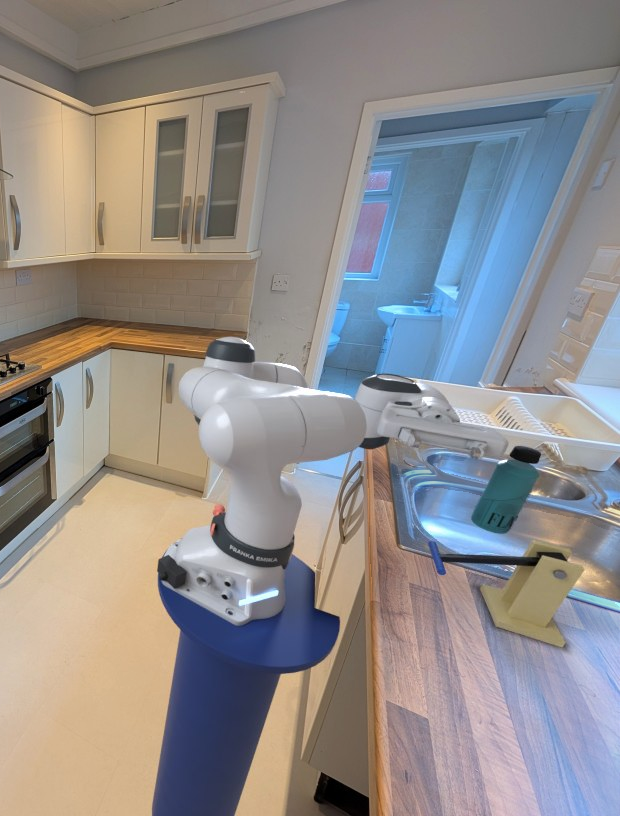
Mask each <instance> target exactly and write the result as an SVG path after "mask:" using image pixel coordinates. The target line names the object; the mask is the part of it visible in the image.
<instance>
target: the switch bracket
mask: <svg viewBox="0 0 620 816" xmlns="http://www.w3.org/2000/svg"><path fill="white" fill-rule="evenodd" d="M537 552H560V553H562V554H563V555H564V557H565V558H566V560H567V561H568V560H569V558H570V557H571V555H573V551H572V550H571V549H570V548H569V547H565V546H559V545H556V544H553V543H552V544H551V543H547V542H543V541H540V540H535V539H531V541H530V543H529V545H528V546H527V548H526V550H525V551H524V553H523V555H522V556H521V557H537ZM567 561H563V560H559V559H555V558H551V557H547V556H542V557H541V559H540V560H539V562H538V564H537V565H536V566H515V568H514V570H513V571H512V573H511V575H510V577H509V578H508V580H507V582H506V583H505V585H504V587H503V588H497V587H495V586H491V585H487V584H484V583H482V584H481V586H480V587H479V590H480V593H481V595H482V597H483V599H484V602H485V604H486V606H487V609H488V611H489V613H490V617H491V618H492V621H493V623H494V626H495V627H497V628H500V629H501V630H505V631H509V632H512V633H515V634H518V635H522V636H524V637H527V638H530V639H533V640H536V641H540V642H544V643H546V644H550V645H552V646H556V647H559V648H563V647H564V646H565V645H566V644H567V642H566V640H565V638H564V637H563V635H562V633H561V631H560V630H559V628H558V626H557V624H556V623H555V621H554V620H553V617H554V615H556V612H557V611H558V609H559V607H561V605H562V604H563V602H564V600H566V598H567V596H568V595H569V593H570V592H571V591H572V589H573V588H574V586H575V585H576V583H577V582H578V581H579V579H580V577H581V576H582V575H583V573H584V572H585V570H586V569H585V568H584V566H583V565H581V564H579V563H574V562H570V561H568V562H567Z"/></svg>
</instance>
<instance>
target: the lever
mask: <svg viewBox="0 0 620 816" xmlns="http://www.w3.org/2000/svg"><path fill="white" fill-rule="evenodd" d="M427 545H428V548H429V551H430V554H431V558H432V561H433V565H434V567H435V571H436V574H437V575H438V576H446V575H447V570H446V567H445V564H444V563H455V564H457V563H459V564H474V565H475V564H478V565H496V566H497V565H498V566H515V567H517V566H536V565H537V564H538V562H539V560H540V559H541V557H542V556H547V557H551V558H555V559H559V560H563V561H567V562H569V561H568V560H566V558H565V557H564V555H563V554H562V553H560V552H537V557H522V556H515V555H513V556H512V555H491V554H489V555H488V554H466V553H465V554H464V553H445V552H444V553H443V552H441V553H440V550H439V547H438V545H437V542H436V541H434V540H429V541H428V542H427Z"/></svg>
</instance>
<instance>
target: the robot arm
mask: <svg viewBox="0 0 620 816" xmlns="http://www.w3.org/2000/svg"><path fill="white" fill-rule="evenodd" d="M204 354H205V357H204V358H205V359H204V361H203V365H202V366H196V367H193V368H190V369H188V371H186V372H185V373H184V374H183V375H182V377H181V379H180V380H179V382H178V388H177V389H178V390H177V392H178V396H179V399H180V401H181V402H182V403H183V405H184V406H185V407H186V409H187V410H188V411H189V412H190V413H191V414H193V416H194V420H195V422H196V424H197V425H198V439H199V443H200V447H201V449H202V450H203V452H204V454H205V455H206V456H207V458H208V459H209V460H210V461H212V462H213V464H215V465H217V466H218V467H219V468H221V469H222V470H223V472H224V474H225V475H226V477H227V481H228V494H227V501H226V508H225V506H224V505H223V504H221V503H217V504H215V505H214V506H213V510H212V516H213V517H212V520H211V523H210V524H208V525H202V526H195V527H192V528H190V529H189V530H188V531H186V532H185V533H184V535H183V536H182V537H183V538H182V537H181V538H182V539H181V538H179V539H177V540H175V541H174V542H172V543H171V545H169V547H168V548H167V549H168V550H167V549H166V550H167V551H166V550H165V551H166V553H165V552H164V553H165V555H164V554H163V555H164V557H162V556H161V558H158V560H157V567H156V569H157V570H156V572H157V574H158V573H159V574H160V576H159V579H160V580H161V581H162V583H163V585H165V586H166V587H168V588H170V589H171V590H173V591H175V592H177V593H179V594H180V595H182V596H184V597H186V598H187V599H189V600H191V601H193V602H195V603H196V604H198V605H200V606H202V607H203V608H205V609H207V610H209V611H211V612H212V613H214V614H216V615H218V616H220V617H221V618H223V619H225V620H227V621H228V622H230V623H232V624H234V625H237V626H242V625H244V624H246V623H248V622H250V621H251V620H256V619H266V618H270V617H273V616H275V615H277V614H278V613H279V612H280V611H281V610H282V609H283V607H284V605H285V591H284V578H285V569H286V568H287V565H288V563H289V562H290V559H291V556H292V554H293V552H294V548H295V538H296V537H295V530H296V527H297V524H298V521H299V517H300V513H301V510H302V505H303V503H302V498H301V496H300V493H299V491H298V489H297V488H296V486H295V485H294V484H293V483H292V482H291V481H290V480H288V479H287V478H286V477H284V476H282V472H283V470H284V468H285V467H286V466H287V465H291V464H301V463H312V462H320V461H321V462H322V461H328V460H330V459H331V460H332V459H333V458H337V457H340V456H342V455H346V454H349V453H352V452H354V451H355V450H357V449H358V448H360V449H364V450H376V449H379V448H381V447H383V446H386V445H388V444H389V442H390V440H391V439H395V440H399V441H402V442H404V443H406V444H407V445H408V447H411V448H416V449H417V448H420V444H422V445H427V446H432V447H437V448H441V449H442V448H443V449H447V450H454V451H459V452H463V453H468V456H469V458H470V459H473V460H479V461H481V460H483V458H484V456H486V457H490V458H496V459H497V458H501V457H503V456H504V454H505V453H506V451H507V449H508V447H509V440H508V439H507V438H506V437H505V436H504V435H502V433H500V432H498V430H495V429H494V428H491V427H488V426H484V425H480V424H475V423H474V424H473V423H468V422H461V420H460V417H459V415H458V414H457V412H456V410H455V409H454V407H453V406H452V405H451V404H450V402H449V400H448V399H447V398H446V396H445V395H444V394H443V393H442V392H441V391H440V390H438V389H437V388H435V387H434V386H432V385H429V384H426V383H421V382H415V381H414V380H413V379H411V378H409V377H406V376H402V375H398V374H395V373H377V374H374V375H371V376H368V377H365V378H364V379H362V380H361V382H360V384H359V387H358V389H357V392H356V393H355V395H354V398H353V397H352V396H350V395H347V394H345V393H344V394H343V393H337V392H330V391H323V390H317V389H310V388H309V386H308V383H307V381H306V378H305V376H304V375H303V373H302V372H301V371H300V370H299V369H297V368H296V367H295V366H292V365H289V364H283V363H277V362H267V361H256V352H255V348H254V346H253V345H252V343H250V342H247V341H246V340H244V339H243V338H240V337H237V336H223V337H220V338H215V339H213V340H212V341H211V342H209V344H208V346H207V348H206V350H205V353H204ZM229 614H231V615H229Z"/></svg>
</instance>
